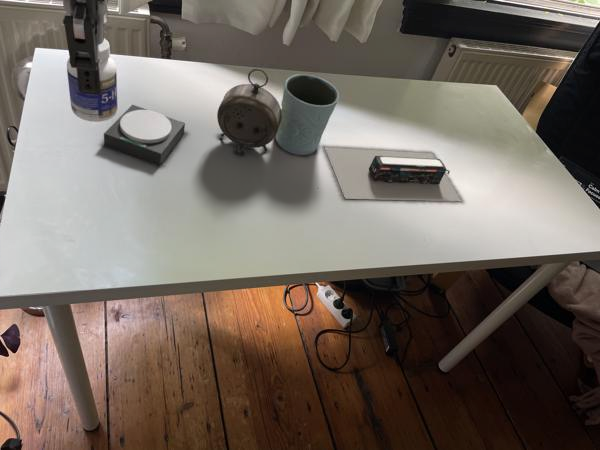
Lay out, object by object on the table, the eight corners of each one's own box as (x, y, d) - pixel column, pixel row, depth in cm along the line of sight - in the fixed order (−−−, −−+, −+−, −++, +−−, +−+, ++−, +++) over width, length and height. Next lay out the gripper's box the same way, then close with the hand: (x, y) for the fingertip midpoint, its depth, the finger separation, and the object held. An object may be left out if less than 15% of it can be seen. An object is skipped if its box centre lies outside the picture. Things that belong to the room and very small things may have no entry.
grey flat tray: (461, 201, 97) (471, 185, 94) (345, 198, 88) (352, 181, 85) (431, 153, 106) (440, 138, 103) (324, 147, 97) (330, 130, 94)
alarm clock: (274, 147, 93) (294, 71, 82) (267, 164, 89) (288, 87, 78) (218, 130, 93) (231, 51, 81) (210, 146, 89) (222, 65, 78)
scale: (160, 164, 82) (161, 150, 80) (104, 145, 82) (103, 129, 80) (184, 133, 90) (185, 119, 87) (132, 115, 89) (132, 100, 87)
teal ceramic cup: (313, 127, 101) (329, 75, 93) (327, 159, 95) (347, 107, 87) (266, 125, 98) (279, 71, 89) (278, 158, 91) (293, 103, 83)
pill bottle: (110, 127, 59) (107, 60, 53) (65, 117, 58) (56, 48, 52) (123, 102, 63) (121, 37, 56) (80, 93, 62) (73, 26, 56)
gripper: (118, -46, 42) (122, 118, 54) (127, -99, 51) (129, 51, 63) (19, -63, 40) (47, 111, 52) (48, -115, 49) (66, 43, 61)
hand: (92, 77), depth 57 cm, fingers closed on pill bottle, 5 cm apart
